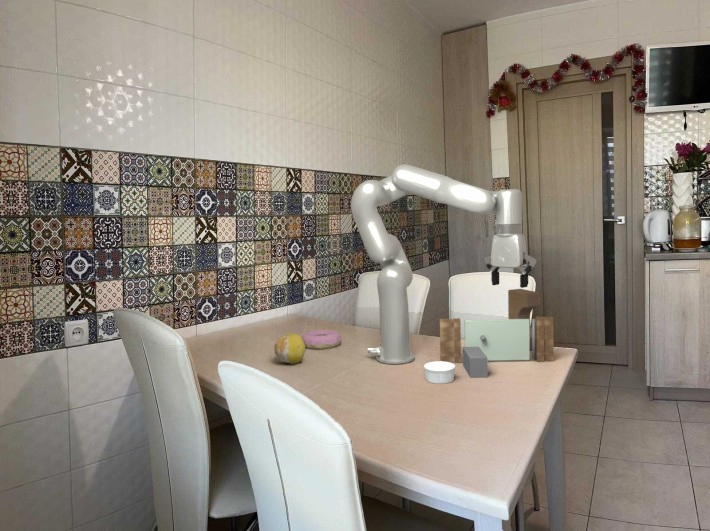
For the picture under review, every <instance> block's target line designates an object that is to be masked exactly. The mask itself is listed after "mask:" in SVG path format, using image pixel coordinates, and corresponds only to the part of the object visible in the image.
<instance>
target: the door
mask: <svg viewBox="0 0 710 531" xmlns="http://www.w3.org/2000/svg"><path fill="white" fill-rule="evenodd" d="M531 327H532V351H531V357H532V358H531V359H532V360H533V361H536V360H535V318H532V319H531ZM464 347H479V348H480V349H481V350H482V352H483V353H484V354H485V355H486V357H487V358H488V362H489V361H530V351H529V319H508V318H507V319H504V318H503V319H502V318H501V319H465V320H464Z"/></svg>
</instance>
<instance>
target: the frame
mask: <svg viewBox="0 0 710 531" xmlns="http://www.w3.org/2000/svg"><path fill="white" fill-rule="evenodd" d="M534 319H535V360H534V361H536V362H537V363H544V362H554V317H553V316H535V317H534ZM461 322H462V321H461V318H459V317H457V318H455V317H454V318H439V345H440V346H439V348H440V352H439V354H440V361H443V362H449V363H452V362H453V363H452V364H461V363H462V332H461V330H462V327H461V325H462V324H461Z"/></svg>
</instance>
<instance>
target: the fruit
mask: <svg viewBox="0 0 710 531" xmlns="http://www.w3.org/2000/svg"><path fill="white" fill-rule="evenodd" d="M301 337H302V336H301V335H299V334H297V333H286V334H285V335H283V336H280V337H279V338H277V340H276V342H275V343H274V354H275V356H276V358H277V359H278V360H279V361H280V362H282V363H287V364H291V365H296V364H298V363H300V362H302V360H303V359H304V356H305V353H306V347H305V344H304V341H303V339H302V338H301Z"/></svg>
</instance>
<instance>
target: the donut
mask: <svg viewBox="0 0 710 531" xmlns="http://www.w3.org/2000/svg"><path fill="white" fill-rule="evenodd" d="M300 337H301V338H302V339H303V341H304V344H305V348H306V349H309V350H327V349H333V348H335V347H338V346H339V345H340V344H341V343H342V340H343V339H342V334H341V333H340V332H338V331H337V330H332V329H315V330H309V331H307V332H305V333H304V334H303V335H302V336H300Z"/></svg>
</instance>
